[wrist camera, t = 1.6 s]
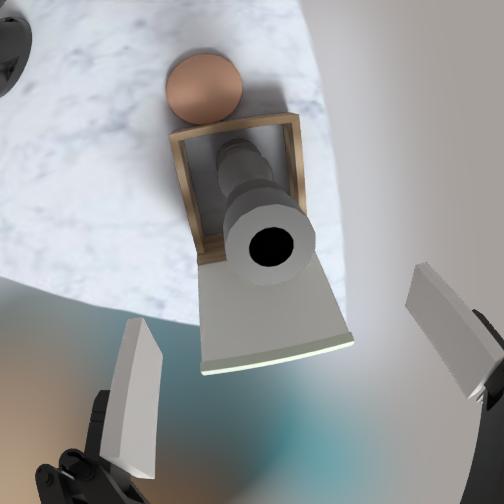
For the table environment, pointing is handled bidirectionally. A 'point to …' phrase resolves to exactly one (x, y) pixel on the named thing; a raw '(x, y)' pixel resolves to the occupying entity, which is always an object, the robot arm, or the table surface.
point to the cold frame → (213, 245)
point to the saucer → (204, 89)
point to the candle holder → (260, 219)
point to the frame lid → (266, 318)
